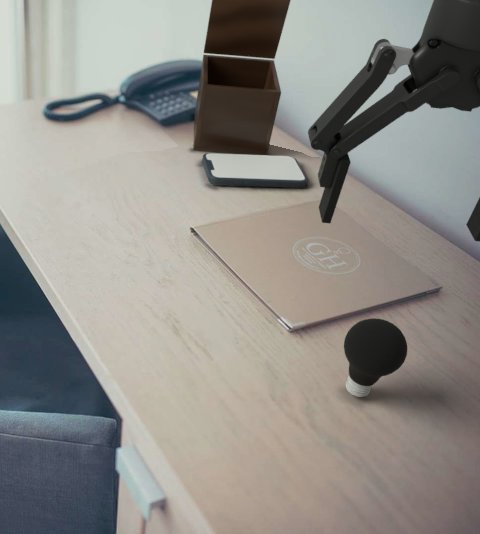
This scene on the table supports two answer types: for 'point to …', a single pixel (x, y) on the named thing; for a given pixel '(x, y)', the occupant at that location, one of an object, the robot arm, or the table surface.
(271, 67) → the chest
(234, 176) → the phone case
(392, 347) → the light bulb
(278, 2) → the lid
